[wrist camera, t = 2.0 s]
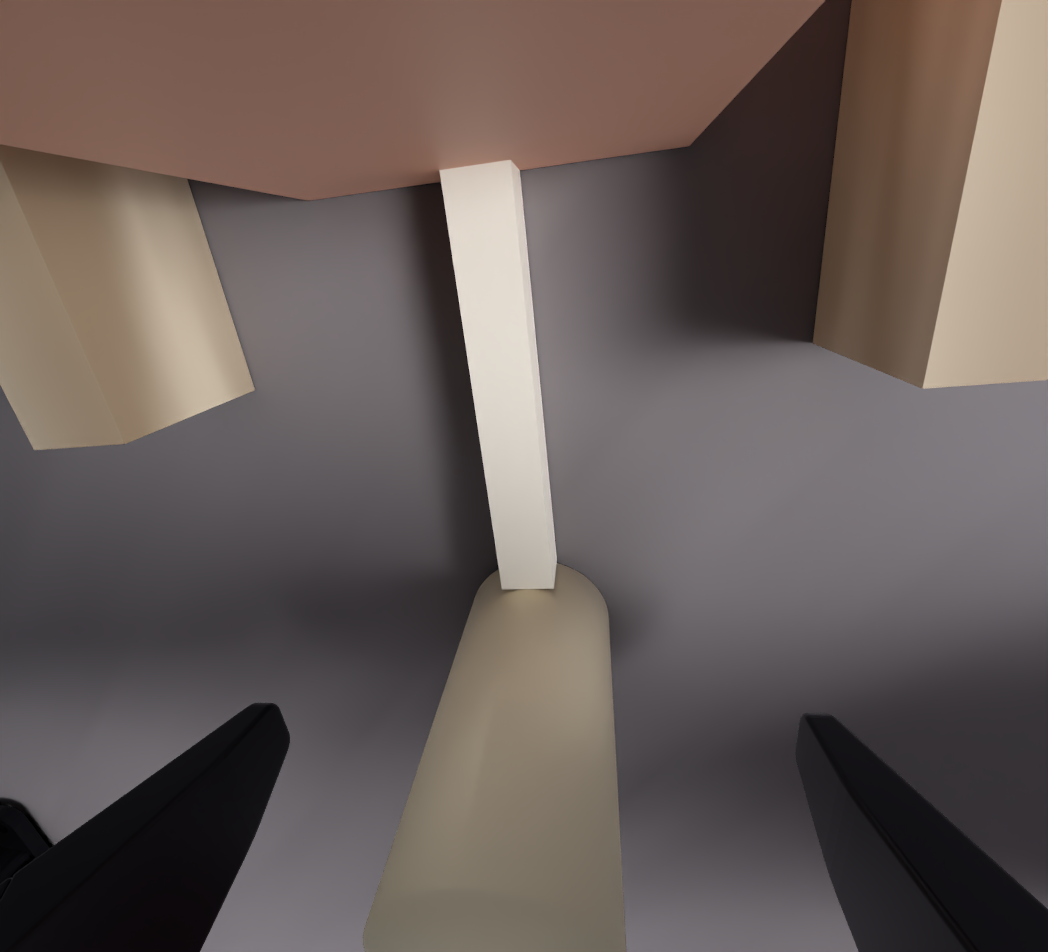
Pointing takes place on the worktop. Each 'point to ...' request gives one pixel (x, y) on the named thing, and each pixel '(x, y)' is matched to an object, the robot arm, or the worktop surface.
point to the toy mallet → (489, 331)
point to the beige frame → (846, 274)
